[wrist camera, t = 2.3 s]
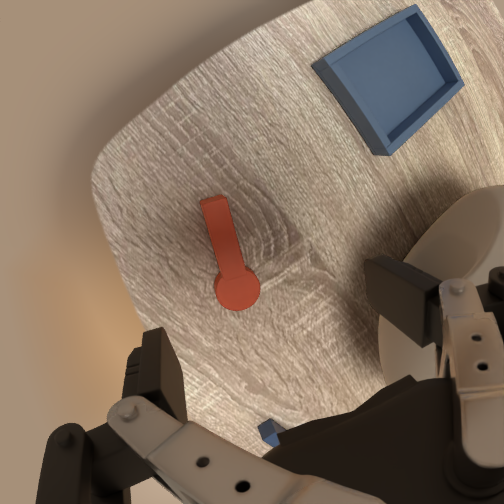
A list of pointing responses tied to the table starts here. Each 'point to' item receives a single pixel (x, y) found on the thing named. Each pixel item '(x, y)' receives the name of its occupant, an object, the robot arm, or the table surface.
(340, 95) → the blue tray
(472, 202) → the pot
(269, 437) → the blue spoon
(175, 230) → the table surface
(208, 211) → the red spoon
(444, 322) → the robot arm
